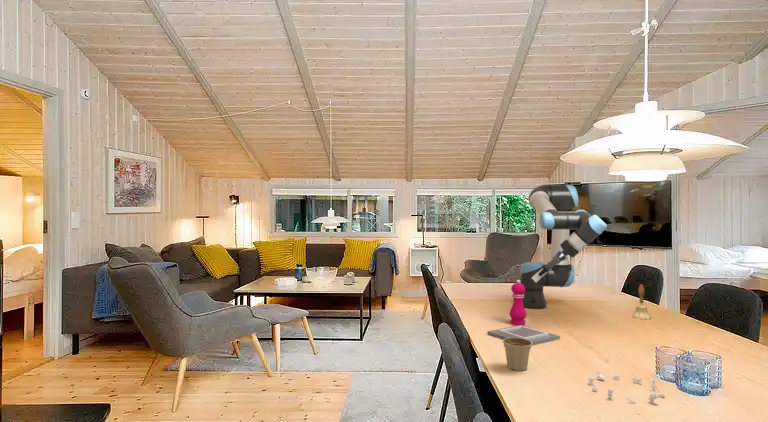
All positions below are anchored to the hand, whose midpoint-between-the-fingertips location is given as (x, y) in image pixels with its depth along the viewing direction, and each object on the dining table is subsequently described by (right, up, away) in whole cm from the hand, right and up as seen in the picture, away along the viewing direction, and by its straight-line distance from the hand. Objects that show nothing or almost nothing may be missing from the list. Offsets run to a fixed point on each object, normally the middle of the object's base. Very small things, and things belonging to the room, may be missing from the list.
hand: (536, 278), depth 204 cm
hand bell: (+57, -22, +20) cm, 64 cm away
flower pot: (-24, -22, -53) cm, 62 cm away
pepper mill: (-7, -22, +5) cm, 23 cm away
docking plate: (-10, -21, -16) cm, 29 cm away
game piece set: (+2, -23, -70) cm, 74 cm away
